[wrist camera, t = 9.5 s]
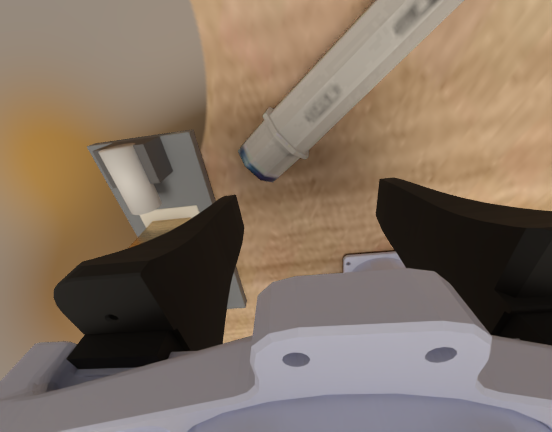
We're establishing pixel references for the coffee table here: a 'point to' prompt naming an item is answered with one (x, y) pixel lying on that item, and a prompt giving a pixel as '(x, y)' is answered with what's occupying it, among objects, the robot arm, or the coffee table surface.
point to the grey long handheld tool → (340, 81)
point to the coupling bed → (160, 183)
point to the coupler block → (158, 229)
